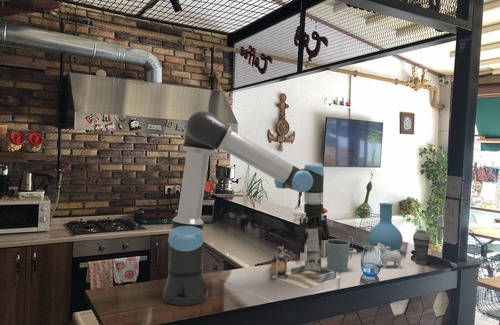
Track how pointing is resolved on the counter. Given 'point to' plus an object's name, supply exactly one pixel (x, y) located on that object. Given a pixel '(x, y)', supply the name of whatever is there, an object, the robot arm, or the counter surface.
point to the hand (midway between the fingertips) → (313, 258)
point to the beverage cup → (421, 246)
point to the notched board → (309, 276)
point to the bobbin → (281, 265)
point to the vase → (386, 230)
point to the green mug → (337, 254)
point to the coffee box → (314, 248)
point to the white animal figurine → (389, 256)
